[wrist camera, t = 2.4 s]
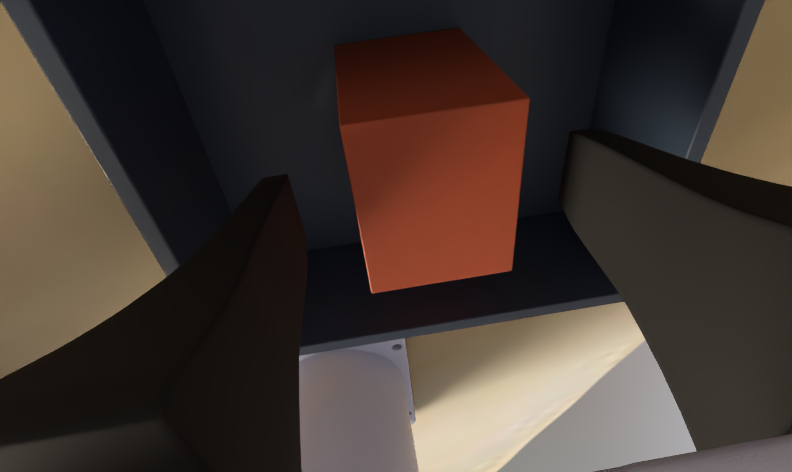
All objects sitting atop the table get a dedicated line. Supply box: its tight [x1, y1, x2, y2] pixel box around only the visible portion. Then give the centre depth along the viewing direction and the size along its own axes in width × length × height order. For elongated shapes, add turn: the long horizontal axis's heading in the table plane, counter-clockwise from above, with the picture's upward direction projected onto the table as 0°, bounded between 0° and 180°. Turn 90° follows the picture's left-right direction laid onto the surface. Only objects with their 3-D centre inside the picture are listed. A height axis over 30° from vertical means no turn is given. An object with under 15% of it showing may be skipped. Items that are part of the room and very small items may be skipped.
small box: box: [334, 28, 530, 293], centre depth 13 cm, size 5×4×6 cm
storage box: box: [0, 0, 765, 356], centre depth 13 cm, size 15×12×6 cm
